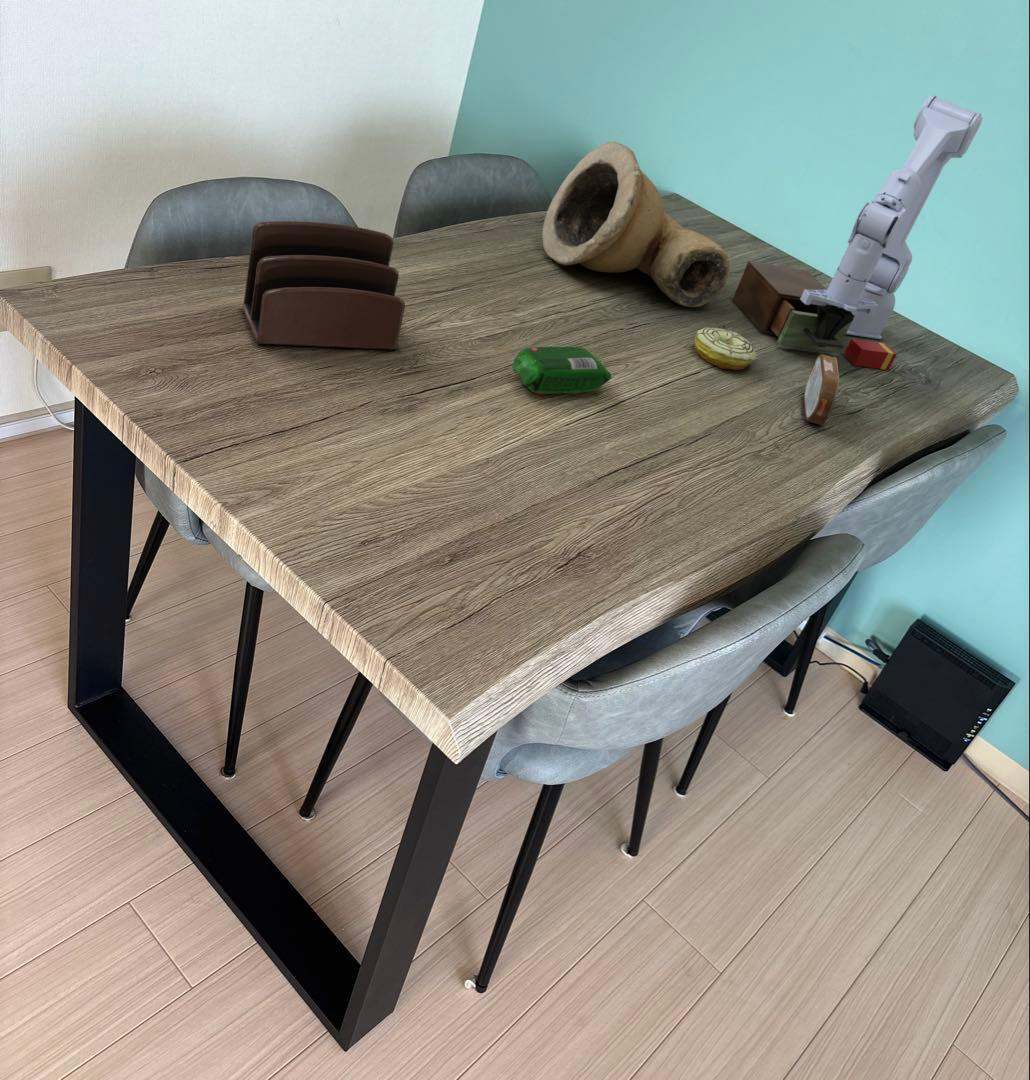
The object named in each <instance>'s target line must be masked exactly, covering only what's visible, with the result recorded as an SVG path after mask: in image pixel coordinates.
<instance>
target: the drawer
mask: <svg viewBox="0 0 1030 1080" xmlns="http://www.w3.org/2000/svg"><path fill="white" fill-rule="evenodd" d="M851 323H852V322H850V323H849V324H847V325H846V326H844V327H843V328H842V329H841V330H840V331H839V332H838V333H837V334H836V335H835V336H834V337H833V338H832V339H831V340H830V339H823V338H816V337H815V333H816V327H817V305H815V304H810V305H806V304H804V303H803V302H802V301H798V300H791V299H785V298H781V300H780V302H779V304H778V307H777V309H776V311H775V313H774V316H773V318H772V320H771V322H770V325H769V327H770V329H771V330H772V331H773V332H774V333H775V334H776V335H777V337H778V339H777V341H776V342H777V343H778V344H779V346H787V347H794V348H801V349H808V350H816V351H821V352H822V351H823V352H829V353H837V352H838V351H839V349H842V348H844V346H845V342H844V341H843V340H844V339H845V336H846V335H847V334H846V333H847V331H848V329H849V327H850V325H851ZM776 335H775V336H776ZM817 345H822V346H825V347H819V346H817Z"/></svg>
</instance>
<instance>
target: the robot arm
mask: <svg viewBox="0 0 1030 1080" xmlns="http://www.w3.org/2000/svg"><path fill="white" fill-rule="evenodd" d="M982 122H983V115H982V113H981V112H976V111H974V110H971V109H969V108H965V107H963V106H961V105H959V104H956V103H953V102H951V101H947V100H945V99H943V98H940V97H938V96H937V95H935V94H931V95H930V96H928V97H927V98H926V99H925V100H924V102H923V103H922V106H921V107H920V108H919V111H918V113H917V115H916V117H915V120H914V122H913V136H914V139H915V143H914V145H913V147H912V149H911V151H910V152H909V154H908V156H907V158H906V160H905V162H904V164H903V166H902V167H901V168H898V169H894V170H892V171H891V172H890V174H889V175H888V176H887V178H886V180H885V181H884V183H883V184H882V185H881V187H880V188H879V190H878V192H877V193H876V195H875V196H874V197H873V199H872V201H871V202H870V203H869V202H866V203H865V204H864V205H863V207H862V208H861V209H860V211H859V213H858V214H857V217H856V219H855V221H854V224H853V228H852V231H851V233H850V235H849V237H848V240H847V244H848V245H847V247H846V249H845V251H844V253H843V255H842V257H841V259H840V261H839V264H838V266H837V268H836V270H835V272H834V273H833V276H832V279H831V280H830V283H829V285H828V287H827V288H826V289H827V290H806V289H805V290H804V292H803V294H802V296H801V298H800V300H801V301H802V302H803V303H804V304H806V305H810V304H815V305H817V327H816V333H815V337H816V338H823V339H830V340H831V339H832V338H833V337H834V336H835V335H836V334H837V333H838V332H839V331H840V330H841V329H842V328H843V327H844V326H846V325H847V324H849V323H850V322H852V323H851V325H850V327H849V329H848V331H847V333H846V335H850V336H856V337H861V338H862V337H863V338H869V339H876V340H882V338H883V336H881V335H882V333H883V330H884V329H885V327H886V325H887V323H888V321H889V319H890V317H891V315H892V313H893V312H894V309H895V306H896V295H895V293H896V292H897V291H898V290H899V288H900V286H901V285H902V283H903V281H904V279H906V275H907V274H908V271H909V268H910V266H911V263H912V261H913V253H912V251H911V250H910V248H909V246H908V244H907V242H906V240H907V239H908V237H909V235H910V233H911V231H912V230H913V228H914V225H915V224H916V221H917V219H918V217H919V215H920V213H921V211H922V210H923V208H924V206H925V204H926V202H927V200H928V198H929V197H930V194H931V193H932V190H933V189H934V186H935V185H936V183H937V181H938V178H939V177H940V174H941V173H942V170H943V169H944V167H945V165H946V164H947V163H948V162H950V160H951V159H960V158H961V159H962V158H963V156H964V155H965V154H966V153H967V152H968V149H969V148H970V146H971V144H972V142H973V140H974V138H975V136H976V134H977V132H978V131H979V128H980V126H981V124H982ZM817 346H819V347H825V346H822V345H817Z"/></svg>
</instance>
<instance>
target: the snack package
mask: <svg viewBox="0 0 1030 1080" xmlns="http://www.w3.org/2000/svg"><path fill="white" fill-rule="evenodd" d="M511 367H512V370H513V372H515V373H516V374H517V375H518V377H519V378H520V379H521V382H522V385H523V386H525V387H527V388H528V389H529V390H530V391H531V392H532V393H534V394H536V395H553V394H577V393H589V392H590V393H591V392H594V391H597V390H599V389H601V387H603V386H604V385H605V384H606V383H608V382H609V381H610V380H611V379H612V374H611V372H610V371H609V370H608V369H607V367H605V366H604V364H603V363H602V360H599V359H598V358H597V357H596V356H595V355H594V354H592V353H591V352H590V351H589V350H588V349H586V348H585V347H581V346H530V347H525V348H524V349H521V350H520V351H519V352H518V354H517V355H516V357H515V358H514V360H513V362H512V365H511Z"/></svg>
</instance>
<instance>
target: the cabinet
mask: <svg viewBox="0 0 1030 1080" xmlns="http://www.w3.org/2000/svg"><path fill="white" fill-rule="evenodd" d="M805 289H806V290H827V289H828V288H827V287H826V286H824V284H822V283H821V282H820V281H819V280H818V279H817V278H816V277H815V276H814V275H813V274H812V273H811V272H810V271H809V270H803V269H797V268H793V267H786V266H779V265H775V264H770V263H762V262H757V261H751V260H748V261H747V264H746V266H745V269H744V271H743V274H742V275H741V278H740V280H739V283H738V286H737V288H736V290H735V292H734V295H733V296H732V299H731V300H732V302H734V303H735V305H736V306H737V307H738V308H739V310H741V312H742V313H743V314H744V315H745V316H746V317H747V319H749V321H750V322H751V323H752V325H754V327H755V328H756V329H757V330H758V331H759V332H760V333H761V334H763V335H768V336H769V335H770V336H777V335H776V334H775V333H774V332H773V331H772V330H771V329H770V327H769V325H770V322H771V320H772V318H773V316H774V313H775V311H776V309H777V307H778V304H779V302H780V300H781V298H785V299H791V300H798V301H801V300H800V298H801V296H802V294H803V292H804V290H805ZM777 337H778V336H777Z"/></svg>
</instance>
